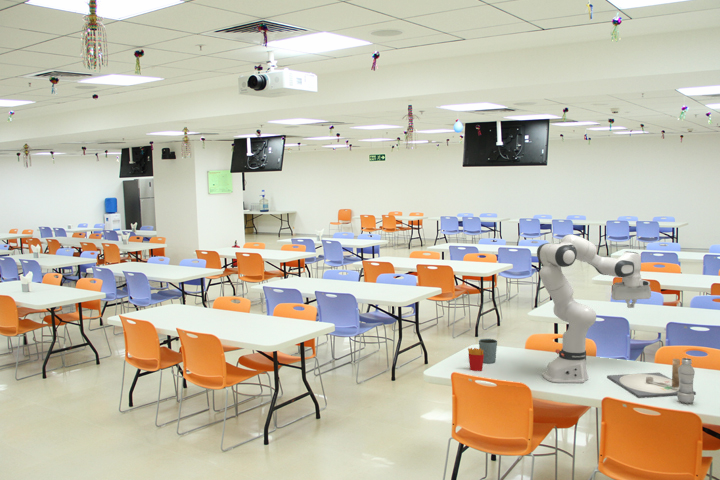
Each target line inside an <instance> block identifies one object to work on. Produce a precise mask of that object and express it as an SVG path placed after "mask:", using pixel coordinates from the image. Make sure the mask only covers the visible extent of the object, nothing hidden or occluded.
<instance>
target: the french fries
mask: <svg viewBox="0 0 720 480" xmlns="http://www.w3.org/2000/svg"><path fill="white" fill-rule="evenodd" d="M467 350H468V361H469V370H470V371H474V372H482V371H483V367H484V363H483V358H484V354H483V350H482V351H481V349H480V348H479V347H478V348H476V347H474V348H472V347H471V348H469V347H468V348H467Z"/></svg>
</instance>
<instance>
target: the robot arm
mask: <svg viewBox="0 0 720 480" xmlns="http://www.w3.org/2000/svg"><path fill="white" fill-rule="evenodd" d="M597 251H598V250H597V246H596V245H595V243H593V242H591V241H590V240H588V239H586V238H584V237H582V236H578V235H576V234H572V233H571V234H565V235H564V236H563V237H562V239H561V240H560V243H554V242H553V243H552V242H551V243H550V242H545V243H542V244H540V245H539V246H538V247H537V250H536V257H537V259H538V263H539V265H540V266H541V268H540V270H539V272H538V273H539V274H538V275H539V278H540V280H541V283H542V284H543V287H544V288H545V290H546V291H547V293H548V295H549V296H550V298H551V299H552V302H553V305H554V306H553V313H554V316H556V318H558V319H560V320H561V321H563V322H566V323H568V327H567V331H565V332H563V334H562V348H561V350H560V349H558V348H557V349H555V353H556V354H557V355H558V356H557V357H556V358H555V359H553V360H552V361H550V362H549V363H548V365H547V368H546V371H543V372H542V373H541V375H542V377H543V378H544V379H545V380H547V381H549V382H551V383H558V384H559V383H560V384H561V383H563V384H564V383H565V384H566V383H567V384H568V383H569V384H570V383H571V384H572V383H573V384H574V383H576V384H579V383H580V384H581V383H585V382H586V381H587V380H588V379H589V375H588V372H587V363H586V362H587V350H586V342H587V341H586V340H587V333H588V331H589V329H590V327H592V326H593V325H594V324H595V323H596V320H597V313H596V311H595V310H594V309H593V308H592V307H590V306H588V305H586V304H581V303H579V302H577V301H575V300H574V297H573V296H574V289H573V287H572V286H571V284H570V283H569V281H568V279H567V278H566V276H565V275H564V274H563V271H562V268H567V267H571V266H573V264H574V263H575V261H576V260H577V261H580V262H583V263H587V264H588V265H591V267H593V268H594V269H595V270H596V271H597V273H598V274H600V275H603V276H610V277H614V278H615V277H616V278H622V281H619V282H618V281H617V282H615V283H613V284H611V285H612V288H611V289H612V290H611V295H610V296H611V299H612V300H614V301H625V303H626V305H627V307H626V308H628V309H632V308H633V309H634V308H635V305H636V303H637V300H649V299H650V298H651V297H652V288H651V281H648V280H645V279H643V278H641V276H642V275H641V269H642V260H641V259H642V258H641V255H640V253H638V252H634V251H628V250H627V251H624V252H623V254H622V255H621V256H618V257H617V258H615V257H611V256H606V255H601V256H600V255H599V254H597V253H598V252H597ZM631 301H632V302H631ZM630 302H631V303H630Z"/></svg>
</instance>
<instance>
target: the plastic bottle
mask: <svg viewBox="0 0 720 480" xmlns="http://www.w3.org/2000/svg"><path fill="white" fill-rule="evenodd" d="M692 360H693V359H691V358H688V357H682V358H681V364H680V367H679V368H678V375H679V390H678V394H677V396H676V397H677V401H679V402H680V403H684V404H692V403H694V401H695V395H694V393H693V391H694V379H695V368H694V367H693V366H692Z"/></svg>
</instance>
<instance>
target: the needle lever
mask: <svg viewBox="0 0 720 480" xmlns="http://www.w3.org/2000/svg"><path fill="white" fill-rule="evenodd" d="M680 365H681V359H679V358H672V369H671V371H672V372H671V379H672V385H670V384H666V383H662V382H658V381H653V378H652V377H646V382H647V383H656V384H660V385H664V386H668V387H672V388H678V387H679V375H678V368H679V367H680Z"/></svg>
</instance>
